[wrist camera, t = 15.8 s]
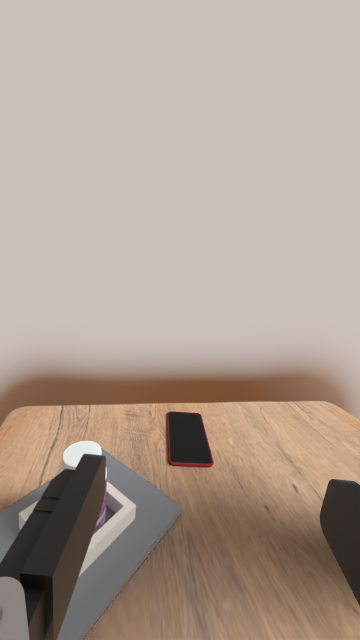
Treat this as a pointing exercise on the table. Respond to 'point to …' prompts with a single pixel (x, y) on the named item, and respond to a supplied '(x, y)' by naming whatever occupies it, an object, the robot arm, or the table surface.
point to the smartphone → (188, 440)
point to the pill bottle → (71, 462)
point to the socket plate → (105, 541)
